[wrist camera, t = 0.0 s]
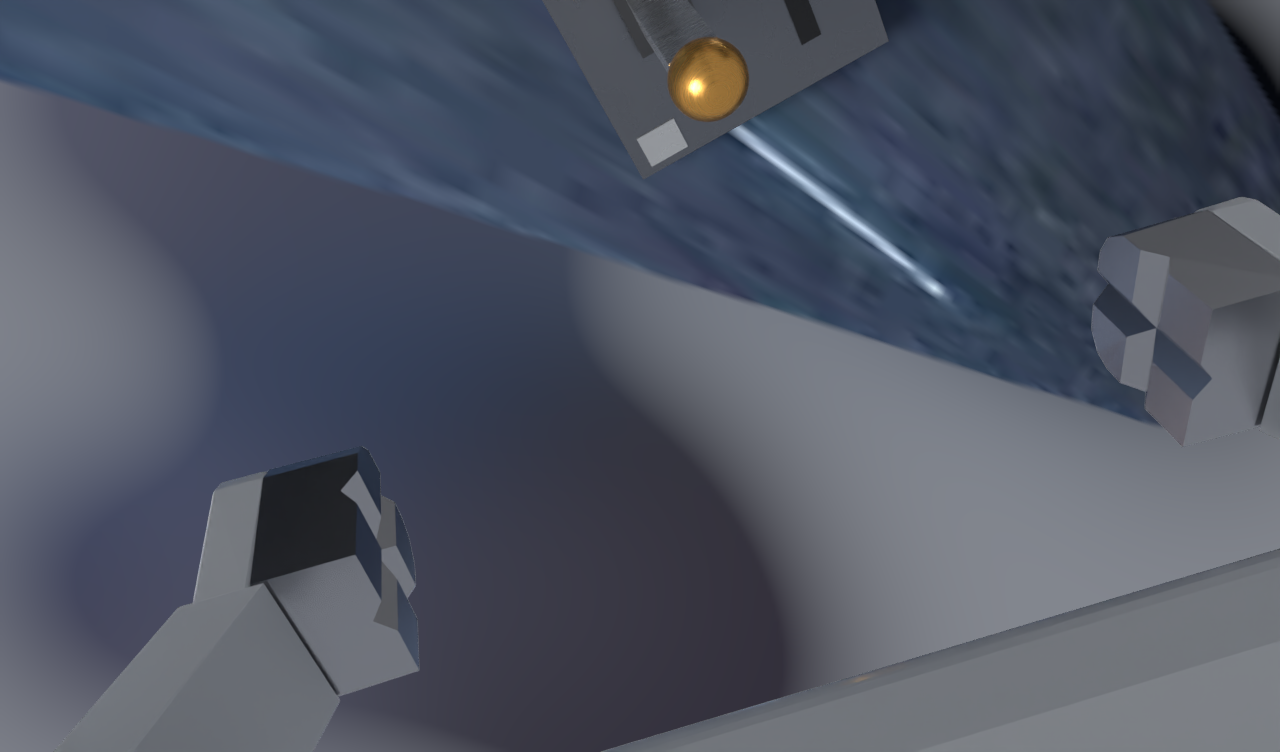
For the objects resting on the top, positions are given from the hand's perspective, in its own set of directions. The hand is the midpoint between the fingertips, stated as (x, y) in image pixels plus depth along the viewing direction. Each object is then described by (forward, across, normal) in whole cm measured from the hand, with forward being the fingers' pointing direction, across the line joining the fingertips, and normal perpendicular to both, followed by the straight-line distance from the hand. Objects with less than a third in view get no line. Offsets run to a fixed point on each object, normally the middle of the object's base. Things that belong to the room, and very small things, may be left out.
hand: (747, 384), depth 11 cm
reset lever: (+45, -7, +11) cm, 47 cm away
